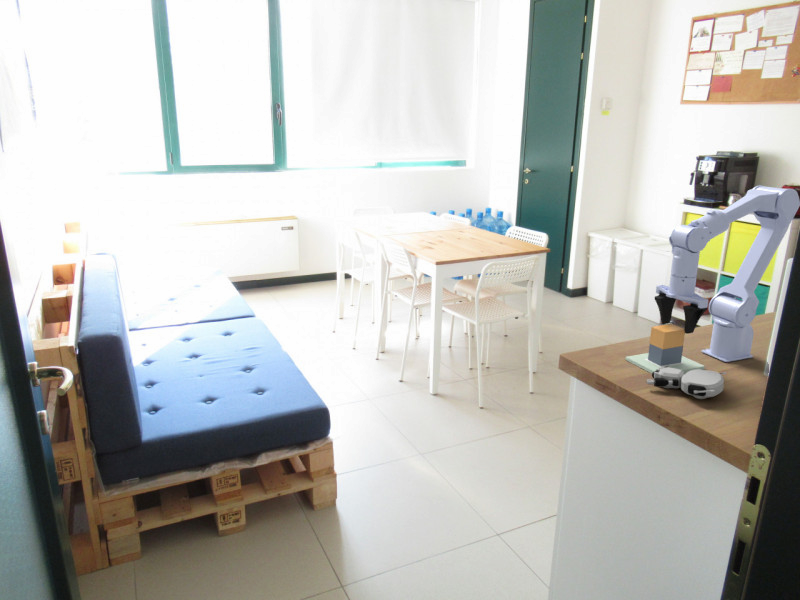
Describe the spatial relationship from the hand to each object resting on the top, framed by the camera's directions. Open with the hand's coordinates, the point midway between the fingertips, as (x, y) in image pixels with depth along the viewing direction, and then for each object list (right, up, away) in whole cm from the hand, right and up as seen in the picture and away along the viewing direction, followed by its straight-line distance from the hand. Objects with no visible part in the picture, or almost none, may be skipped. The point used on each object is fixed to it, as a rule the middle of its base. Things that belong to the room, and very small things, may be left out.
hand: (676, 327), depth 148 cm
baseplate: (-2, -9, +2) cm, 10 cm away
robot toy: (-4, -14, -12) cm, 19 cm away
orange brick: (-3, -4, 0) cm, 5 cm away
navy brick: (-3, -8, +1) cm, 9 cm away
